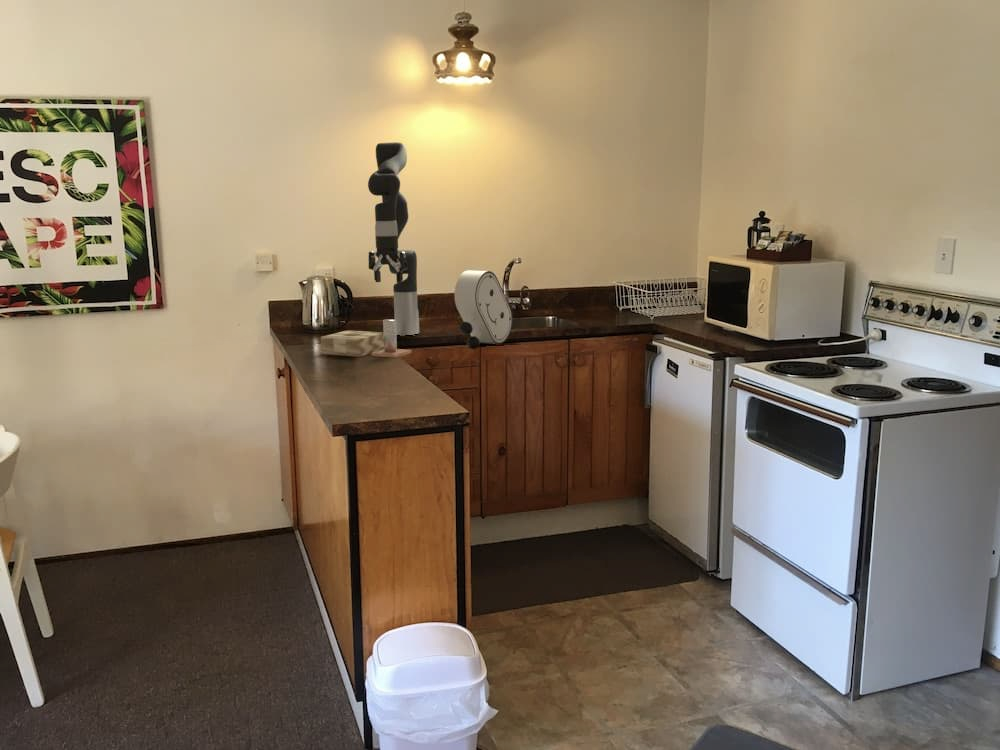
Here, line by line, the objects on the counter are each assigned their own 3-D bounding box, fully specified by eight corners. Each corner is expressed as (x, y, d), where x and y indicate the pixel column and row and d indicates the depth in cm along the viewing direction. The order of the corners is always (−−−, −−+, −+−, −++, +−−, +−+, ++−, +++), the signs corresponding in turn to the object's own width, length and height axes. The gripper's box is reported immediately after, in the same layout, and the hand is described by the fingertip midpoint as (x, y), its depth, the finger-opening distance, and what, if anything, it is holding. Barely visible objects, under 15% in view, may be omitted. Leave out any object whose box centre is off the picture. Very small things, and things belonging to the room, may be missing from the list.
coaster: (387, 351, 308) (387, 348, 308) (411, 352, 304) (411, 350, 304) (371, 355, 300) (371, 353, 299) (396, 357, 295) (395, 354, 295)
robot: (460, 309, 294) (489, 261, 306) (439, 308, 298) (469, 261, 311) (490, 368, 314) (516, 321, 327) (470, 366, 318) (497, 319, 331)
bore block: (348, 346, 319) (347, 330, 318) (385, 349, 312) (384, 332, 311) (321, 353, 305) (320, 336, 304) (359, 356, 298) (358, 339, 297)
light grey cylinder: (388, 349, 305) (387, 318, 302) (399, 350, 303) (398, 319, 300) (381, 352, 301) (380, 320, 298) (392, 352, 299) (391, 321, 296)
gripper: (410, 234, 293) (412, 282, 297) (375, 233, 299) (377, 280, 303) (398, 235, 287) (400, 284, 290) (362, 235, 293) (365, 282, 296)
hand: (388, 282), depth 297 cm, fingers open, 8 cm apart
